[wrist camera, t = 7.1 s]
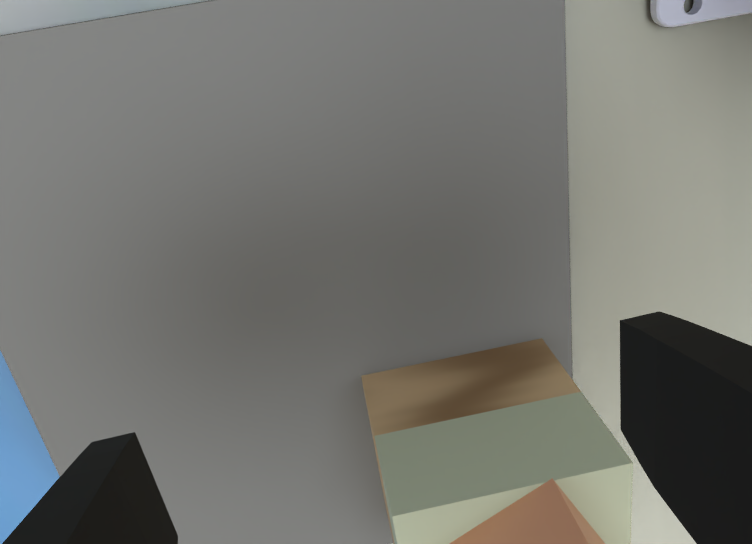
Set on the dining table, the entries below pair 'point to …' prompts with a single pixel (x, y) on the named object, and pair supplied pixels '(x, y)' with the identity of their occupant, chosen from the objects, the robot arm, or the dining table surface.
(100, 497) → the robot arm
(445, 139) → the slate mat
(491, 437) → the sage tower top block
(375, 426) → the oak tower base block
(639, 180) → the dining table surface
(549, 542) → the terracotta block
